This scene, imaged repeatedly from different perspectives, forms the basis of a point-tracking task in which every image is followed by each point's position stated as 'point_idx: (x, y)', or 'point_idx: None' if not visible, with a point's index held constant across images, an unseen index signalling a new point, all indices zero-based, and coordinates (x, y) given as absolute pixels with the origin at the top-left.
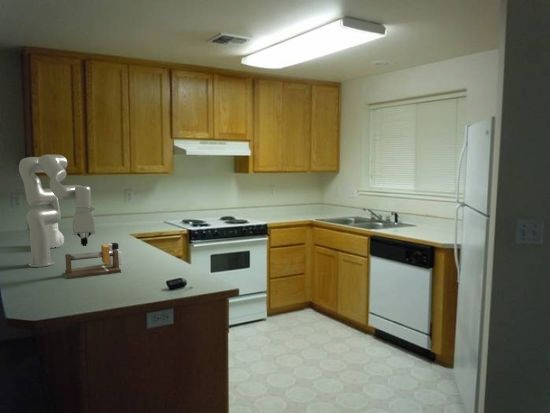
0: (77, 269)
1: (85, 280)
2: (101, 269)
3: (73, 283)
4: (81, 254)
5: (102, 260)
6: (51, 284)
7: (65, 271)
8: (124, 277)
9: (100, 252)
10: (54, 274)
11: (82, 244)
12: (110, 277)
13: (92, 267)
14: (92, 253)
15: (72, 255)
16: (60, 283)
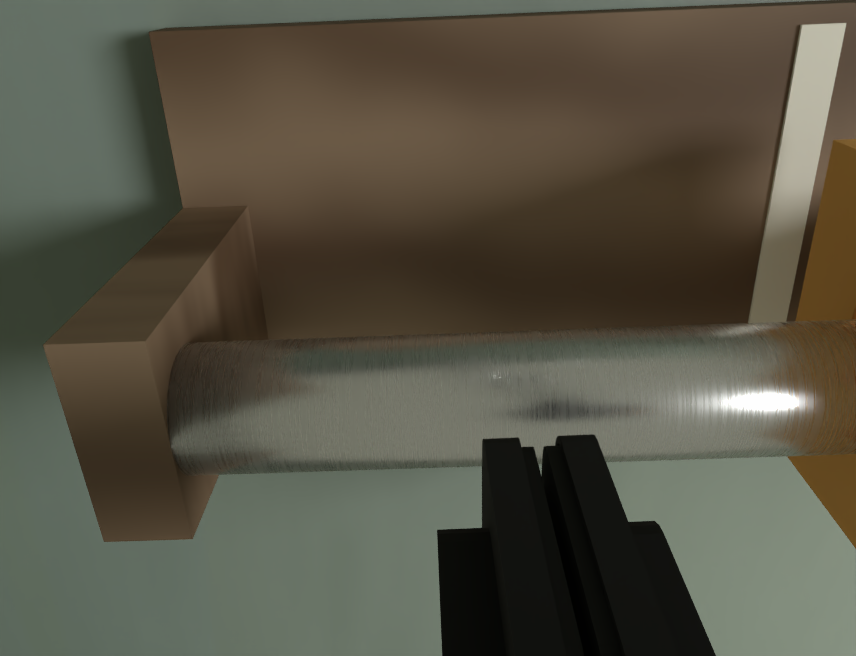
0: (360, 126)
1: (425, 587)
2: (703, 317)
3: (301, 640)
4: (422, 466)
5: (832, 220)
6: (81, 589)
7: (166, 87)
8: (816, 640)
9: (853, 449)
10: (5, 81)
11: (486, 504)
12: (694, 584)
13: (620, 88)
14: (665, 459)
15: (227, 470)
16: (170, 590)
